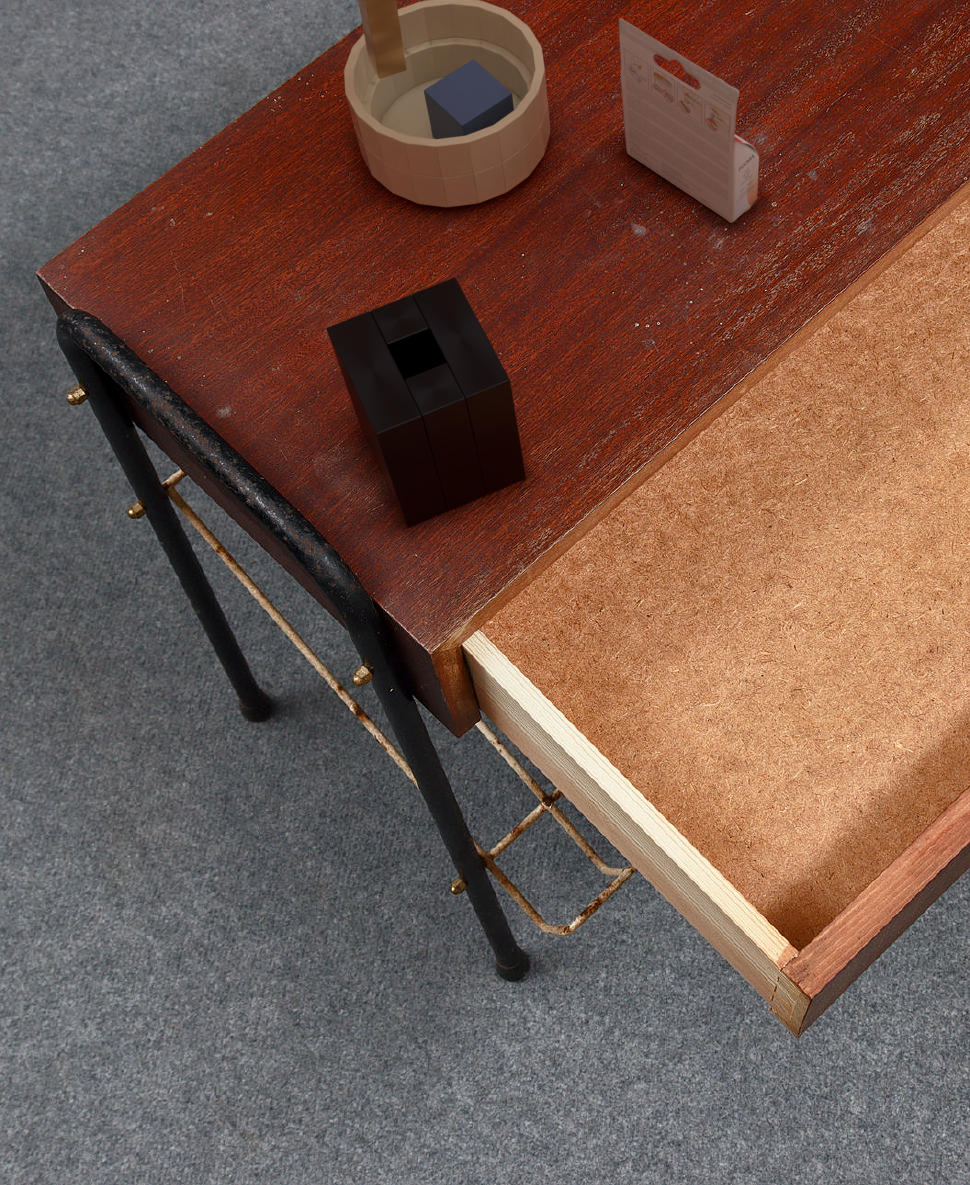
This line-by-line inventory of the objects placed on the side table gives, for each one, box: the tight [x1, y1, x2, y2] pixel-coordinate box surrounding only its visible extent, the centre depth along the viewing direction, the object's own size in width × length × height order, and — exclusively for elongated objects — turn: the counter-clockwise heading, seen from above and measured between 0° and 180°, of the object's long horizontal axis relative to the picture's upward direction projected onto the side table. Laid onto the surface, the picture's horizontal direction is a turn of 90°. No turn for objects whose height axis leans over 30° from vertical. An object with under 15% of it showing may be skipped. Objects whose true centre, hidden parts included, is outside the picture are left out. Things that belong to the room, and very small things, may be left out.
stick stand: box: [325, 276, 527, 529], centre depth 77 cm, size 7×7×10 cm
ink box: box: [618, 17, 760, 224], centre depth 84 cm, size 3×9×12 cm, turn 48°
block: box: [424, 59, 514, 139], centre depth 89 cm, size 4×4×4 cm
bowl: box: [343, 0, 551, 208], centre depth 89 cm, size 12×12×6 cm
